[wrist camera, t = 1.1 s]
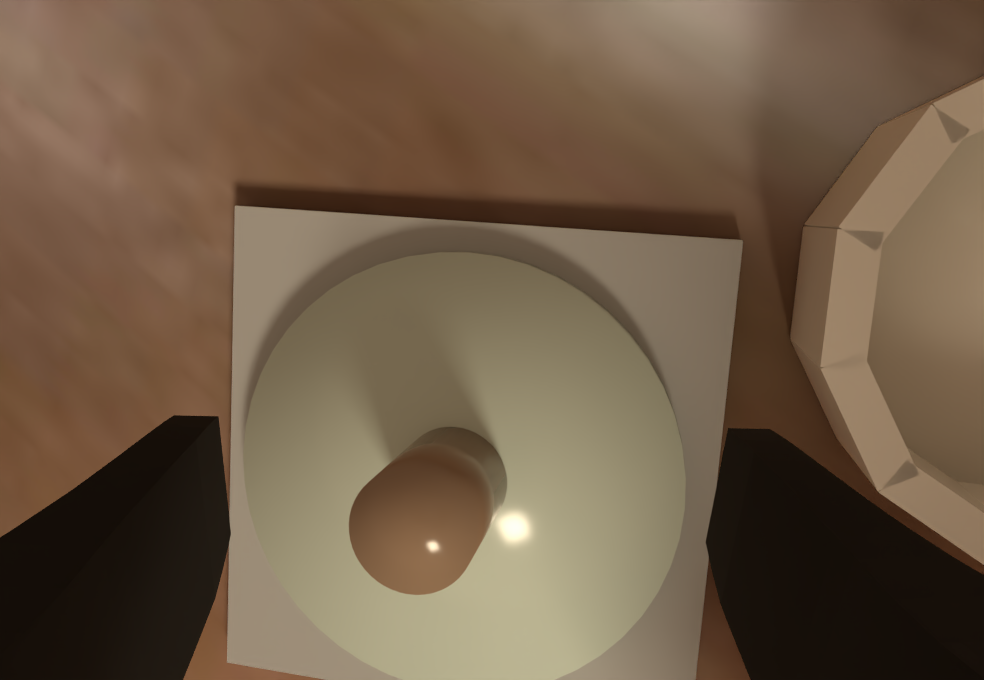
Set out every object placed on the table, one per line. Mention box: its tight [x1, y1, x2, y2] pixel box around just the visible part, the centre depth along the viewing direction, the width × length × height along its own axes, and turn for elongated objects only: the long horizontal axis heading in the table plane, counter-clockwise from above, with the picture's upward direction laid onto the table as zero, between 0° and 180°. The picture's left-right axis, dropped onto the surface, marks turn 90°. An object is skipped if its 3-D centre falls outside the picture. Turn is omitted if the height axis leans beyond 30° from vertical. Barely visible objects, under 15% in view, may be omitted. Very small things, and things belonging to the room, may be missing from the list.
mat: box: [227, 206, 743, 680], centre depth 25 cm, size 14×14×1 cm
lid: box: [243, 252, 686, 680], centre depth 22 cm, size 12×12×5 cm
